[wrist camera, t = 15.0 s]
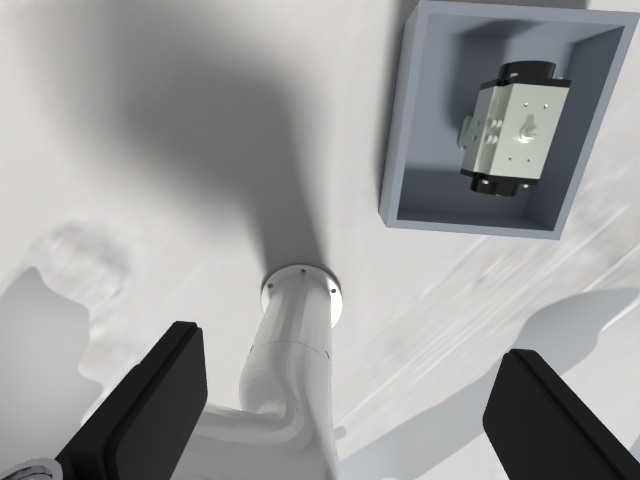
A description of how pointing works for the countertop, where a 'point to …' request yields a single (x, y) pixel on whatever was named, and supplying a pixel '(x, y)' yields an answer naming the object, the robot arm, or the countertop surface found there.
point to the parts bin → (460, 101)
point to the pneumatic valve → (512, 127)
